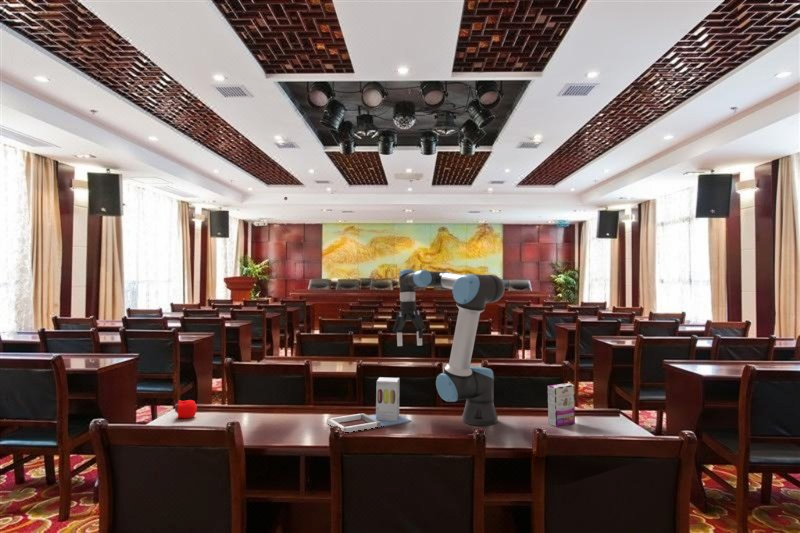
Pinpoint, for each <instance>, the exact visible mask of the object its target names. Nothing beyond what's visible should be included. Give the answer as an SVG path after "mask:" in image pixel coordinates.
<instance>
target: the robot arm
mask: <svg viewBox="0 0 800 533" xmlns="http://www.w3.org/2000/svg"><path fill="white" fill-rule="evenodd" d="M398 274H399V275H398V281H399V282H398V283H399V286H398V287H399V301H400V302H399V304H400V306H399V307H400V310H401V312H400V311H397V312H396V318H395V322H394V326H393V329H392V332H395V333H396V334H395V335H396V341H397V342H396V343H397V345H396V346H397V347H403V345H404V344H403V332H402V330H403V328H404V327H405V324H406V322H407V323H408V322H409V321H410V322H412V323H413V325H414V327H415V329H416V346H423V337H424V335H423V334H424V331H425V330H427V327H426V325H425V323H424V320H423V318H422V316H421V311H420V310H416V309H417V305H416V304H417V303H416V288H442V289H449V290H452V295H453V300H454V301H455V302H456V303H455V305H456V307H457V308H458V314H457V318H456V324H455V329H454V334H453V339H452V340H453V341H452V345H451V350H450V356H449V361H448V362H449V363H447V364H445V365H444V368H443V372H442V373H439V374H437V376H436V380H435V386H436V391H437V393H438V395H439V396H440V398H441V399H442V400H444V401H445V402H449V403H451V402H454V403H455V402H457V401H463V400H465V405H464V409H463V413H462V415H461V416H462V417H461V419H462V422H463V423H465V424H468V425H472V426H481V427H483V426H485V427H488V426H492V425H496V424H498V422H499V421H498V420H499V419H498V414H497V411H496V407H495V404H494V388H495V386H494V382H495V378H494V371H493V370H492V369H491V368H487V367H482V366H477V365H475V366H474V365H471V361H472V356H473V353H474V352H473V351H474V346H475V341H476V335H477V330H478V327H479V321H480V316H481V315H480V314H481V313H483V312H484V311H485V309H486V304H492V303H496V302H498V301H499V300H500V299H501V298H502V297H503V296H504V294H505V291H506V290H505V283H504V281H503V280H502V279H501V277H499V276H498V275H494V274H482V273H481V274H478V273H477V274H476V273H475V274H474V273H468V274H460V273H454V272H449V271H444V270H443V271H433V270H432V271H428V270H426V269H422V270H421V269H419V270H417V271H415V270H414V269H412V268H411V269H410V268H409V269H408V268H407V269H401V270H399V272H398Z"/></svg>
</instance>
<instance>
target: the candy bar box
mask: <svg viewBox="0 0 800 533" xmlns="http://www.w3.org/2000/svg"><path fill="white" fill-rule="evenodd" d="M575 402H576V400H575V385H574V384H571V383H567V382H566V383H559V384H551V385H547V413H548V414H547V416H548V418H547V420H548V423H547V424H548V425H550V426H551V427H552V426H553V427H556V428H559V427H564V426H568V425H569V426H570V425H574V424H576V414H575V413H576V409H575V408H576V407H575Z"/></svg>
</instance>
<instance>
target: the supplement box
mask: <svg viewBox="0 0 800 533" xmlns="http://www.w3.org/2000/svg"><path fill="white" fill-rule="evenodd" d="M400 383H401V382H400V377H383V376H382V377H381V376H380V377H378V378H377V380H376V389H375V390H376V394H375V396H376V397H375V398H376V399H375V401H376V402H375V415H376V420H383V421H397V419H398V417H399V415H400Z"/></svg>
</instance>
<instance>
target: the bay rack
mask: <svg viewBox="0 0 800 533" xmlns="http://www.w3.org/2000/svg"><path fill="white" fill-rule="evenodd" d="M360 420H363V421H364V420H365V422H366V423H361V424H355V425H349V426H344V425H342V424H341V423H344V422H345V423H346V422H351V421H360ZM407 423H412V419H410V418H407V417H405V416H402V415H401V414H399V417H398V419H397V421H383V420H376V414H369V415H368V414H366V413H364V412H363V413H362V412H361V413H357V414H355V413H354V414H349V415H343V416H336V417H329V418H326V424H327V425H328V424H329V425H328V426H330V425H331V426H338V427H340V428H341V430H342V431H344V432H349V433H354V432H353V431H355V432H359V431H358V430H361V431H365V430H364V429H367V430H372V429H371V428H373V429H376V428H375V427H378V428H383V426H384V427H389V426H390V427H391V426H395V425H401V424H402V425H403V424H407ZM331 426H330V427H331ZM381 426H382V427H381Z"/></svg>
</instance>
